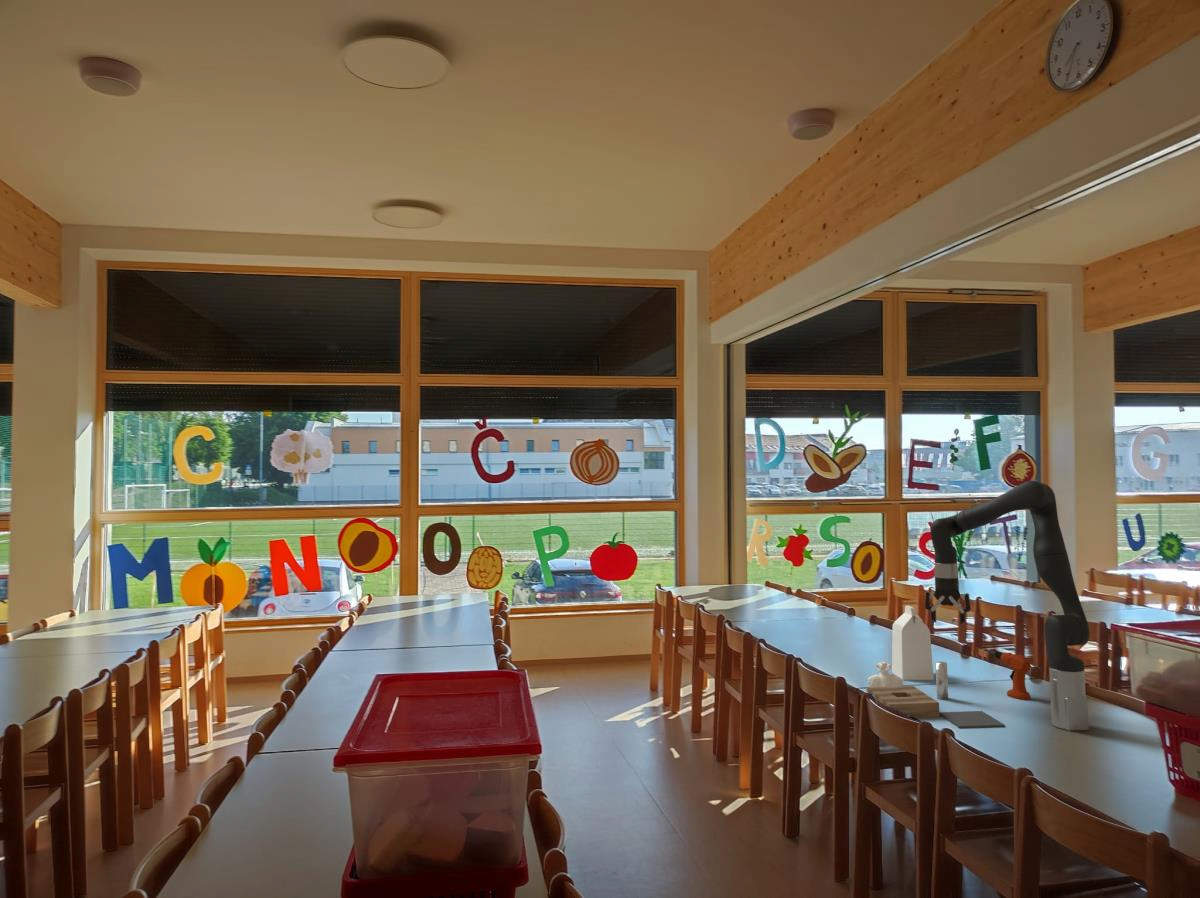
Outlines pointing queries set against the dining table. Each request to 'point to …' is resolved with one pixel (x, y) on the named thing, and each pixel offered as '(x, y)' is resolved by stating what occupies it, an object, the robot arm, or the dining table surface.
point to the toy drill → (1015, 673)
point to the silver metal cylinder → (941, 680)
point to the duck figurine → (884, 677)
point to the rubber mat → (971, 719)
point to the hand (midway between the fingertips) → (948, 622)
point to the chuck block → (906, 700)
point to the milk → (911, 647)
